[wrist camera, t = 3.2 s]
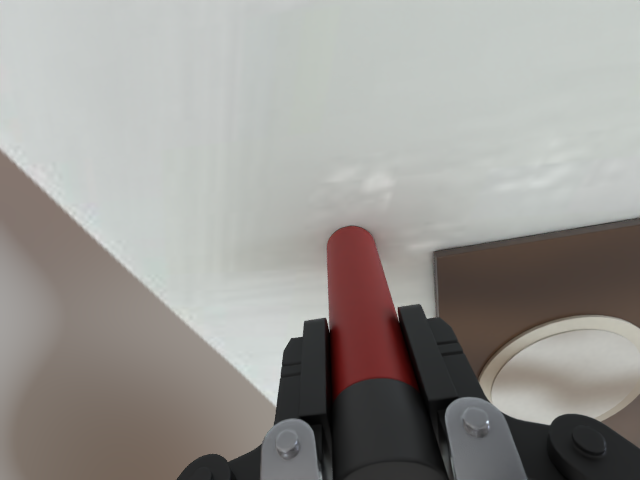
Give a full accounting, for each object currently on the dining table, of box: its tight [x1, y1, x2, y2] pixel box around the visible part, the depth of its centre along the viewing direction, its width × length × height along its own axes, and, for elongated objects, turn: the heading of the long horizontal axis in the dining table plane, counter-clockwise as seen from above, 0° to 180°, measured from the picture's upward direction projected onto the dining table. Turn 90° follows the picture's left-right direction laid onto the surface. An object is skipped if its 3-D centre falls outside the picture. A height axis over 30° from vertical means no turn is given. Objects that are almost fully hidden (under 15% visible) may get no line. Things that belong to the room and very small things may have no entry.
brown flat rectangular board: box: [434, 218, 640, 465], centre depth 21 cm, size 20×14×1 cm
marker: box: [327, 226, 449, 480], centre depth 12 cm, size 2×2×11 cm
